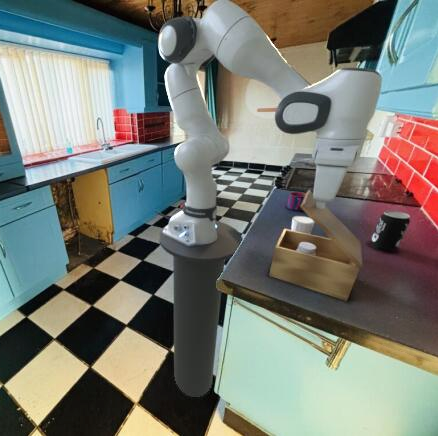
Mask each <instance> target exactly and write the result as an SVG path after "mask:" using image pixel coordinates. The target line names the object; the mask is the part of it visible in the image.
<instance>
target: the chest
mask: <svg viewBox="0 0 438 436" xmlns="http://www.w3.org/2000/svg"><path fill="white" fill-rule="evenodd" d="M301 242H308V243H311V244H313V245H315V246H316V251H315V254H316V256H314V255H310V254H306V253H302V252H298V251H296V249H298V246H299V243H301ZM360 269H361V267H359V268H358V267H357V266H356V265H355V264H354V263H353V261H352V260H351V259H350V258H349V257H348V256H347V255H346V254H345V253H344V252H343V251H342V250H341V249H340V248H339V247H338V246H337V245H336V244H335V243H334V242H333V241H332V240H331V238H330V237H325V236H322V235H321V236H320V235H315V234H311V233H310V234H307V233H302V232H297V231H293V230H291V229H288V228H283V229H282V232H281V234H280V236H279V238H278V240H277V242H276V245H275V246H274V250H273V256H272V260H271V265H270V270H269V271H270V272H269V277H272V278H273V279H274V278H275V279H277V280H280V281H284V282H286V283H290V284H293V285H296V286H299V287H302V288H304V289H305V288H306V289H308V290H312V291H314V292H316V293H317V292H318V293H320V294H324V295H327V296H330V297H332V298H336V299H339V300H343V301H345V302H348V299H349V297H350V294H351V292H352V289H353V287H354V284H355V282H356V279H357V277H358V274H359V272H360Z"/></svg>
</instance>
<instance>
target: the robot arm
mask: <svg viewBox="0 0 438 436" xmlns="http://www.w3.org/2000/svg"><path fill="white" fill-rule="evenodd" d="M262 28H263V27H261V26H260V24H258V22H257V21H256V19H254V18H253V17H252V16H251V15H250V14H249V13H248V12H247V11H245V10H244V9H243V8H242V7H240V6H239V5H238V4H236V3H234V2H233V1H231V0H216V1H214V2H213V3H211V4H210V5H209V7H208V8H207V9H206V11H205V12H204V14H203V16H202V17H201V18H198V17H192V16H178V17H174V18H170V19H168V20H166V21H165V22H164V23H163V25H161V28H160V30H159V34H158V39H157V40H158V41H157V44H158V51H159V55H160V56H161V58H162V59H163V60H164V61H166V62H168V63H170V65H169V66H168V67H167V68H166V70H165V73H164V81H165V82H164V83H165V89H166V94H167V96H168V101H169V103H170V106H171V110H172V113H173V116H174V120H175V122H176V125H177V126H178V128H179V129H181V130H182V131H183V132H184V133H185V134H186V135H187V138H188V139H186V140H184V141H183V142H181V143H180V144H179V145H177V147H176V148H175V150H174V156H173V157H174V158H173V159H174V163H175V165H176V167H177V169H179V170H180V171H181V172H182V174H183V177H184V180H185V186H186V200H185V201H184V202H182V204H181V205H180V209H181V210H180V211H178V212H174V213H173V215H172V216H171V217H169V216H167V215H165V214H164V213H161V212H160V211H158V210H155V213H156V214H158V215H159V216H160V217H161V216H162V217H163V218H165V219H167V220H168V224H167V225H165V226H166V227H165V226H164V227H165V228H164V227H163V228H164V229H163V228H162V229H163V234H164V235H166V236H168V237H170V238H172V239H175V240H177V241H179V242H181V243H183V244H185V245H188V246H194V245H203V244H209V243H212V242H214V241H216V240H217V238H218V236H217V232H216V228H217V226H216V224H215V221H216V218H217V214H218V210H217V209H218V204H217V194H218V184H217V182H216V181H215V180H214V177H213V171H212V169H213V166H214V165H217V164H220V163H221V162H222V161H223V160H224V159H225V158H227V156H228V154H229V152H230V141H229V140H228V138H226V136H224V135H223V134H222V133H221V131H220V130H219V128H218V126H217V125H216V123H215V121H214V119H213V117H212V115H211V113H210V111H209V108H208V105H207V101H206V99H205V95H204V93H203V89H202V86H201V83H200V80H199V71H200V70H205V69H206V68H207V67H208V65H210V63H211V62H212V61H213V60H214V59H215V58H216V60H217V61H218V62H219V63H220V64H221V65H222V66H223V67H224V68H225V69H226V70H228V71H229V72H230V73H232V74H234V75H236V76H238V77H242V78H246V79H251V80H254V81H257V82H259V83H262V84H264V85H266V86H268V87H269V89H271V90H272V91H273V92H274V93H275V94H276V95H277V96H278V97H279V98H280V99H281V101H279V103H278V105H277V106H276V110H275V112H274V113H275V114H274V121H275V124H276V127H277V128H278V130H280V131H281V132H283V133H285V134H289V135H300V134H306V133H312V132H315V133H316V137H315V140H314V143H313V144H314V145H313V148H312V151H311V152H312V153H311V158H312V159H313V160H314V161H313V162H314V164H315V166H316V167H315V175H314V183H313V192H312V193H313V199H315V200H317V204H316V208H320V209H324V208H325V206H326V204H327V203H328V202H329V203H332V202H333V201H334V199H335V198H336V196H337V194H338V192H339V190H340V187H341V186H342V183H343V181H344V178H345V176H346V174H347V172H348V170H349V168H350V167H351V168H352V167H353V165H354V163H355V162H357V161H359V160H360V157H361V154H362V151H363V148H364V146H365V142H366V139H367V136H368V133H367V131H368V126H369V123H370V121H371V120H372V119H373V117H374V115H375V112H376V109H377V106H378V102H379V100H380V99H379V98H380V94H381V92H382V91H381V89H382V83H383V79H382V75H381V74H380V72H378V71H377V70H375V69H373V68H365V67H342V68H339V69H337V70H336V71H334V72H333V73H332V74H331V75H329V76H328V77H326V78H324V79H322V80H321V81H318V82H316V83H313V84H311V83H310V82H308V80H306V78H304V77H303V76H302V75H301V74H300V73H299V72H298V71H296V69H295V68H294V67H293V66H292V65H291V64H290V63H288V61H287V60H285V58H283V56H282V54H281V53H280V52H279V50H278V48H276V46H275V45H274V44H273V42H272V41H271V39H270V38H269V37H268V35H267V34H266V33H265V31H264V30H263V29H262Z"/></svg>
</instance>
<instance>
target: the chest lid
mask: <svg viewBox="0 0 438 436" xmlns="http://www.w3.org/2000/svg"><path fill="white" fill-rule="evenodd" d="M305 194H306V195H305V197H304V199H303V202H302V204H301V206H300V207H301V208H302V209H303V210H302V211H304V212H305V214H306V215H307V217H309V218H311V219H312V220H313V221H314V222H315V224H316V225H317V226H318V228H320V229H321V231H323V232H324V234H326V235H327V237H328V238H330V239H331V240H332V241H333V242H334V243H335V244H336V245H337V246H338V247H339V248H340V249H341V250H342V251H343V252H344V253H345V254H346V255H347V256H348V257H349V258H350V259H351V260H352V261H353V263H354V264H355V265H356V266H357V267H358V268H359V267H360V268H361V267H363V257H362V256H363V255H362V244H361V240H359V239H358V238H357V237H356V235H355V234H354V233H352V232H351V230H349V229H348V228H347V226H346V225H344V223H343V222H342V221H341V220H339V218H338V217H336V215H335V214H334V213H333V212H332V211H331V210H330V209H329V208H328V207H327V206H326V205H325V208H324V209H320V208H316V204H317V200H315V199H313V192H312V191H311V190H310V189H309V190H308V191H306V193H305Z"/></svg>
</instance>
